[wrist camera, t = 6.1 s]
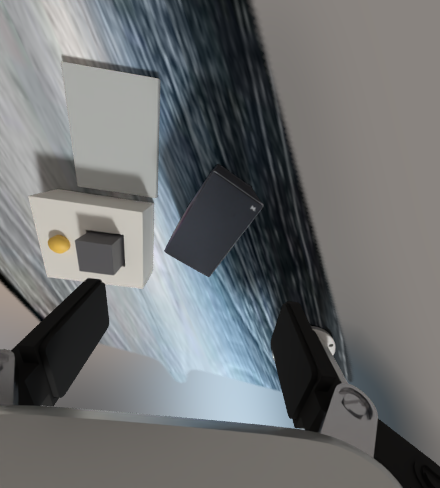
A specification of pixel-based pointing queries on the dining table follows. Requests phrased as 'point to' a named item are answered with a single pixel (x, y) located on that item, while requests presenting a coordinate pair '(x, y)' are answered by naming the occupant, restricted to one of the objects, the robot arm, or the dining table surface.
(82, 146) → the lockout pad
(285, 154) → the dining table surface
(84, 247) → the button
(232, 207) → the small box
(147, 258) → the switch panel
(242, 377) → the dining table surface
